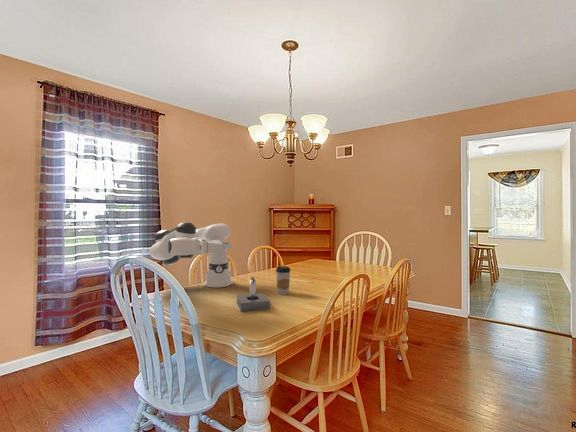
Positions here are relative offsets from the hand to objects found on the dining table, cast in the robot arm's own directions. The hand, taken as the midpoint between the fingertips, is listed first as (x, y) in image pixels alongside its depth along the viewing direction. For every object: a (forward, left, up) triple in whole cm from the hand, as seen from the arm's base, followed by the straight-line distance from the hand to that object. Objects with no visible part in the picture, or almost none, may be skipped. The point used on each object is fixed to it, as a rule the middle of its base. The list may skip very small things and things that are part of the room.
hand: (230, 245), depth 159 cm
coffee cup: (-10, +31, -30) cm, 44 cm away
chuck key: (+8, +10, -30) cm, 33 cm away
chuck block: (+8, +10, -30) cm, 33 cm away
